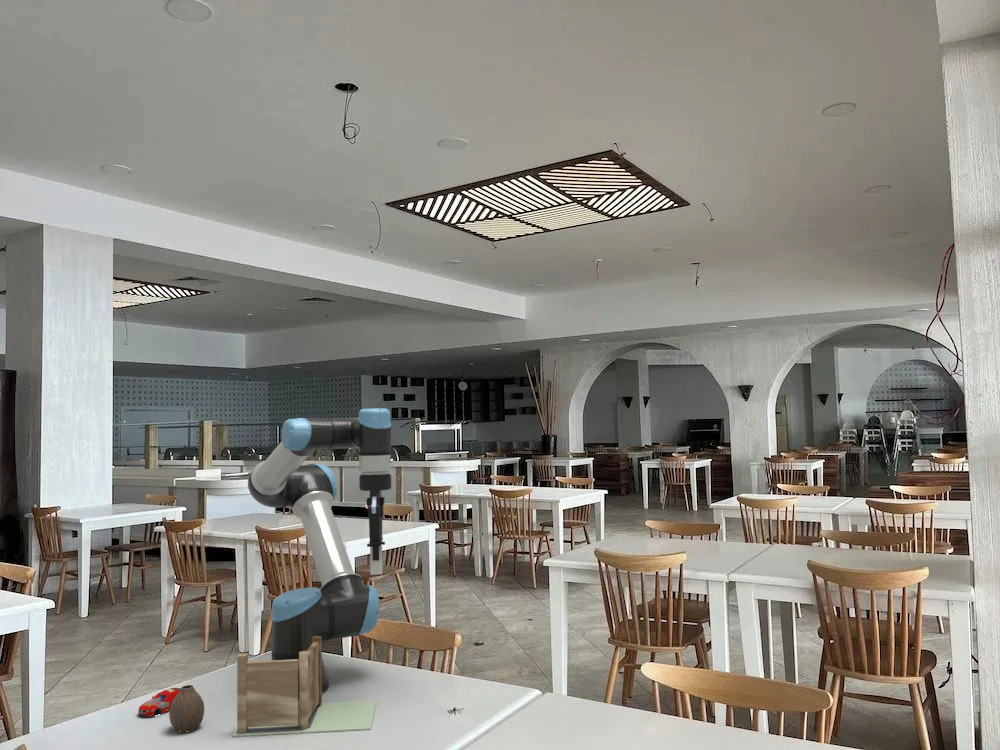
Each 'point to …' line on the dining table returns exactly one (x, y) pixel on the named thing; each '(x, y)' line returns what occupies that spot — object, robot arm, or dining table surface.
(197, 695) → the vase
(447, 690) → the dining table surface
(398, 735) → the dining table surface
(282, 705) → the birch fence section
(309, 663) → the walnut panel
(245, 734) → the card
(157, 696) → the race car
